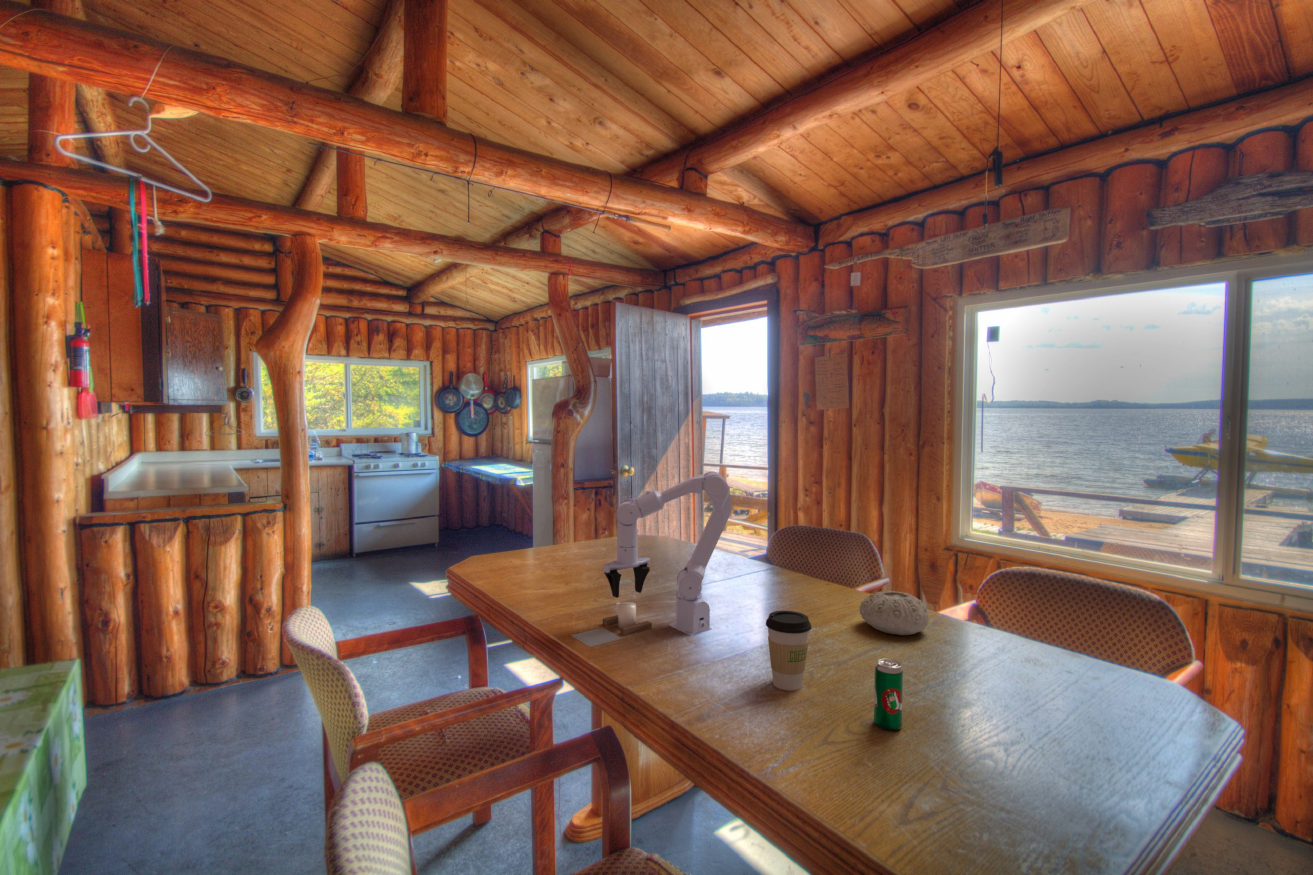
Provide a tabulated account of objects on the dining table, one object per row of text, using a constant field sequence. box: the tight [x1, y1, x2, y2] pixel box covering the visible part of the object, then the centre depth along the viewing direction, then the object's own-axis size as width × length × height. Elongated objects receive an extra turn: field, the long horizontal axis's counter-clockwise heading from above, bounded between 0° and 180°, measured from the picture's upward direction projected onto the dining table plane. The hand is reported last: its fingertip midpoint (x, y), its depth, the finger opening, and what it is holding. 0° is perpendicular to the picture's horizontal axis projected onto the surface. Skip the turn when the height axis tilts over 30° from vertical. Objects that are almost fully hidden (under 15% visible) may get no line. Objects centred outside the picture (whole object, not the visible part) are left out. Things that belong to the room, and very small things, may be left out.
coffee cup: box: [765, 610, 812, 692], centre depth 130 cm, size 10×10×15 cm
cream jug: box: [615, 601, 637, 628], centre depth 166 cm, size 7×5×6 cm
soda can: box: [873, 658, 904, 732], centre depth 113 cm, size 5×5×12 cm
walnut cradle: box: [602, 614, 653, 637], centre depth 165 cm, size 11×9×2 cm
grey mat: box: [570, 627, 623, 648], centre depth 157 cm, size 10×10×1 cm
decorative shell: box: [859, 590, 929, 636], centre depth 166 cm, size 18×18×10 cm
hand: (627, 594), depth 165 cm, fingers open, 7 cm apart
